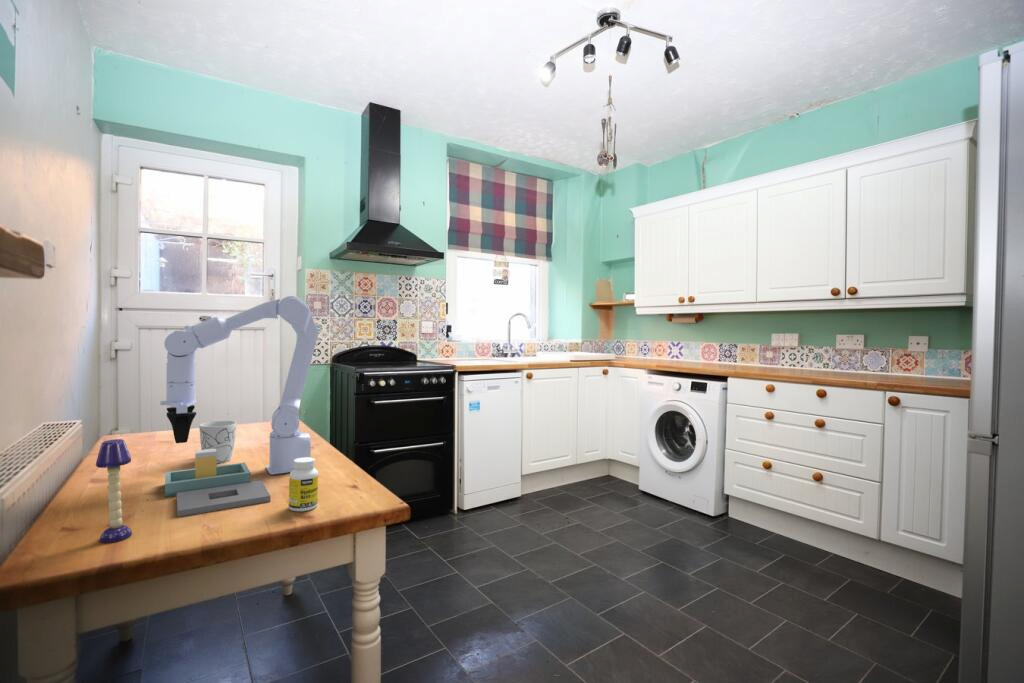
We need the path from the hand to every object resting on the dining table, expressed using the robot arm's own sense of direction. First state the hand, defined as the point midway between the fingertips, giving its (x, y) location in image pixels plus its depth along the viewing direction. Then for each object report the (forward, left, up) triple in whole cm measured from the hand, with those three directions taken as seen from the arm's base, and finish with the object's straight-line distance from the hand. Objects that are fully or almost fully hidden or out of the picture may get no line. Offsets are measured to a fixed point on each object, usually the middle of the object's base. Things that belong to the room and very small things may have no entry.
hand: (181, 439), depth 115 cm
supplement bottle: (-20, +34, -10) cm, 41 cm away
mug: (-8, -15, -10) cm, 20 cm away
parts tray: (-5, +8, -9) cm, 13 cm away
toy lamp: (+10, +32, -10) cm, 35 cm away
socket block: (-7, +21, -9) cm, 24 cm away
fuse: (-5, +8, -9) cm, 13 cm away
